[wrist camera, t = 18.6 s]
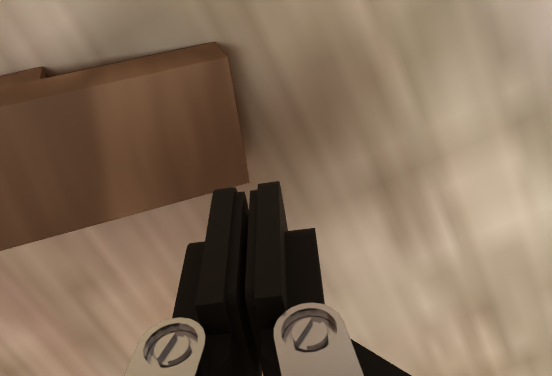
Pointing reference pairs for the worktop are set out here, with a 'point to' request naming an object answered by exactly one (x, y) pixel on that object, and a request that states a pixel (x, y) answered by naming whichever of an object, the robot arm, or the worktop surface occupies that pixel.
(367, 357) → the robot arm
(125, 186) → the walnut domino
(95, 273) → the worktop surface
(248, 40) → the worktop surface
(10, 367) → the worktop surface
